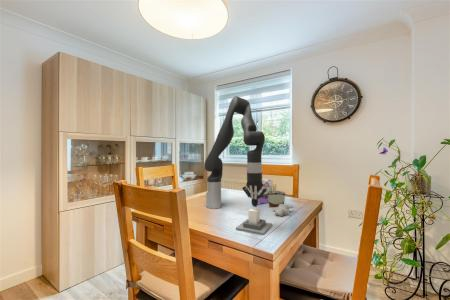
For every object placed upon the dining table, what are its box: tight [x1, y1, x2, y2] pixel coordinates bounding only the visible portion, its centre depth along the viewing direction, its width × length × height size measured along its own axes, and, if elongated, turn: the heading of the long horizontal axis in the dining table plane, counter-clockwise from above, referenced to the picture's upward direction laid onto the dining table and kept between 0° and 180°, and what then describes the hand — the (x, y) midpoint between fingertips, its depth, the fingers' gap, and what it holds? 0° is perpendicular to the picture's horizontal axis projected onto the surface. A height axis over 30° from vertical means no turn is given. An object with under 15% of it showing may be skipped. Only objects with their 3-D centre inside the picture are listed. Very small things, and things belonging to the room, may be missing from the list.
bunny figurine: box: [272, 203, 294, 217], centre depth 131 cm, size 10×5×15 cm
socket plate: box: [235, 218, 273, 236], centre depth 108 cm, size 14×14×3 cm
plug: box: [248, 207, 261, 225], centre depth 108 cm, size 4×5×8 cm
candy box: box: [258, 178, 273, 205], centre depth 155 cm, size 14×6×16 cm, turn 117°
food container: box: [267, 190, 287, 209], centre depth 145 cm, size 12×6×10 cm, turn 84°
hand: (254, 206), depth 108 cm, fingers closed
